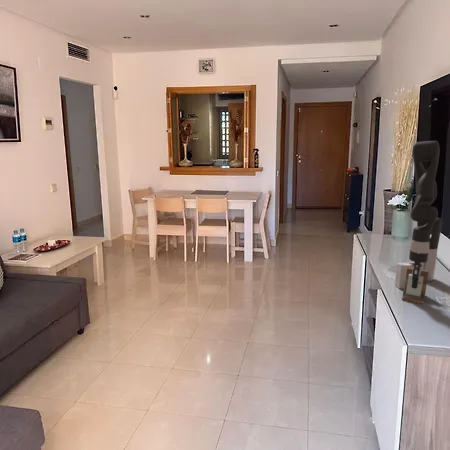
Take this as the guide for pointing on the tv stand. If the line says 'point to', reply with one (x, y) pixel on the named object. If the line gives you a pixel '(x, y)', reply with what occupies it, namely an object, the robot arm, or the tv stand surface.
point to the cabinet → (423, 290)
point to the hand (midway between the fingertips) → (414, 286)
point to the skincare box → (401, 274)
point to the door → (412, 290)
